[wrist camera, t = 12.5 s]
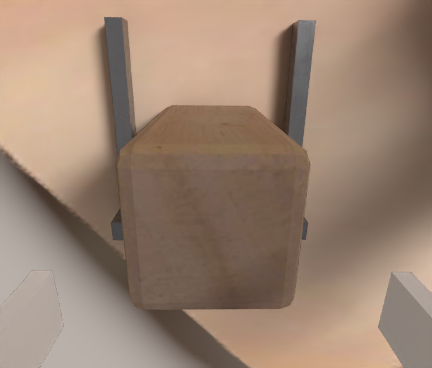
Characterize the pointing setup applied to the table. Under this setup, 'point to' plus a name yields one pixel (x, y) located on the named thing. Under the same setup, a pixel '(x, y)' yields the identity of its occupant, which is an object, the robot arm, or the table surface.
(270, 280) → the wooden block
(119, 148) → the end stop channel
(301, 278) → the table surface
